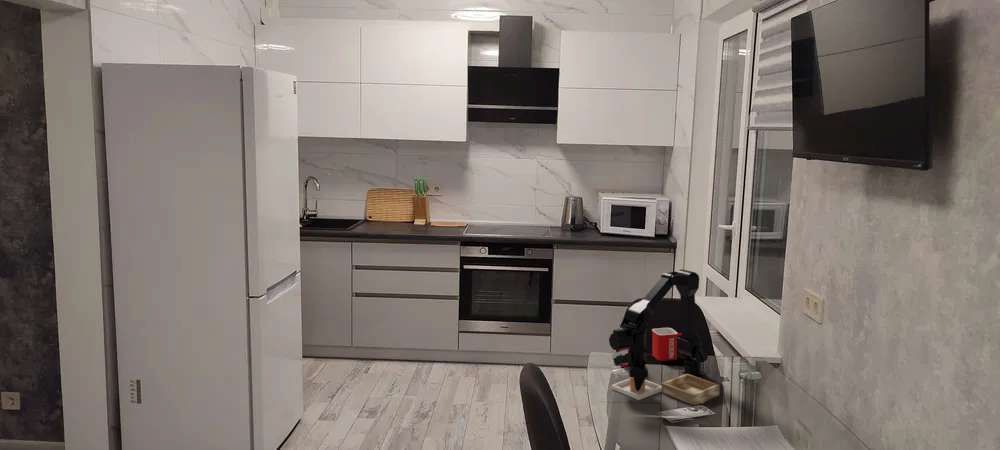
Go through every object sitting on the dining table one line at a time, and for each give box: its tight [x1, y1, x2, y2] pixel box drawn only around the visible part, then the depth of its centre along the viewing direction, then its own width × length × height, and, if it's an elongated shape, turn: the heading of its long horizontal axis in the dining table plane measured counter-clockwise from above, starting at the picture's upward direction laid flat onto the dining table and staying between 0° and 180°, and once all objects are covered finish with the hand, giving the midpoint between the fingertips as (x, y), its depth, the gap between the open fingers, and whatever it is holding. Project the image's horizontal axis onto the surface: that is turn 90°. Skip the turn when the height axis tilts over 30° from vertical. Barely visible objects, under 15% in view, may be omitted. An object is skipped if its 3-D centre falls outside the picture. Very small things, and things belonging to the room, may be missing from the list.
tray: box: [610, 377, 661, 401], centre depth 239 cm, size 13×13×2 cm
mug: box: [651, 327, 682, 362], centre depth 271 cm, size 12×8×11 cm
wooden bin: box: [660, 374, 721, 406], centre depth 234 cm, size 14×14×4 cm
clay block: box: [629, 377, 646, 393], centre depth 239 cm, size 5×5×5 cm
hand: (637, 387), depth 239 cm, fingers open, 5 cm apart
